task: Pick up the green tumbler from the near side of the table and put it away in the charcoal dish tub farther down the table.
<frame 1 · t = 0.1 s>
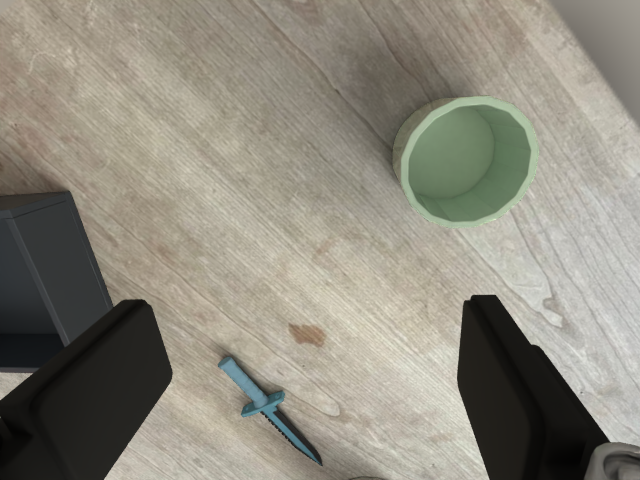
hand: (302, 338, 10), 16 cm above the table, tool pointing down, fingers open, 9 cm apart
knife: (278, 412, 34), on the table
dish tub: (30, 271, 30), on the table
green tumbler: (443, 152, 22), on the table
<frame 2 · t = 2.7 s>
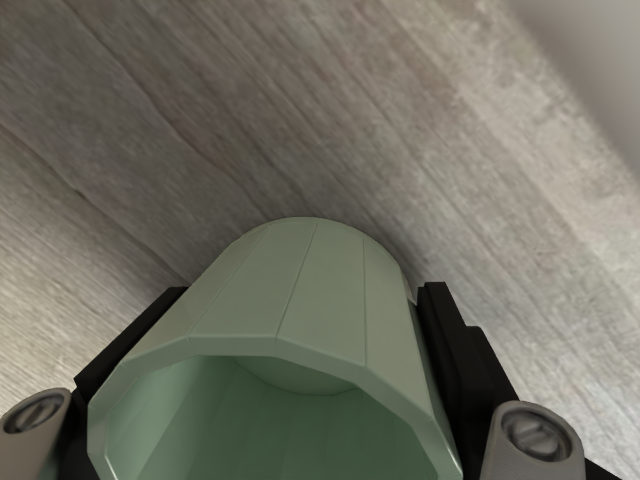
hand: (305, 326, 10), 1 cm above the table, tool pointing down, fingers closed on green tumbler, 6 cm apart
green tumbler: (309, 312, 11), on the table, touching gripper
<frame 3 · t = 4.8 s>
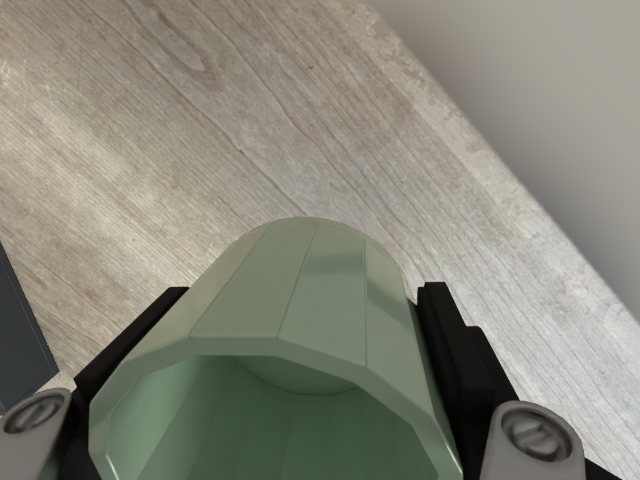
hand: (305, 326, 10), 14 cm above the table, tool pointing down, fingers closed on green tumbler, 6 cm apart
green tumbler: (309, 312, 11), point 13 cm above the table, touching gripper
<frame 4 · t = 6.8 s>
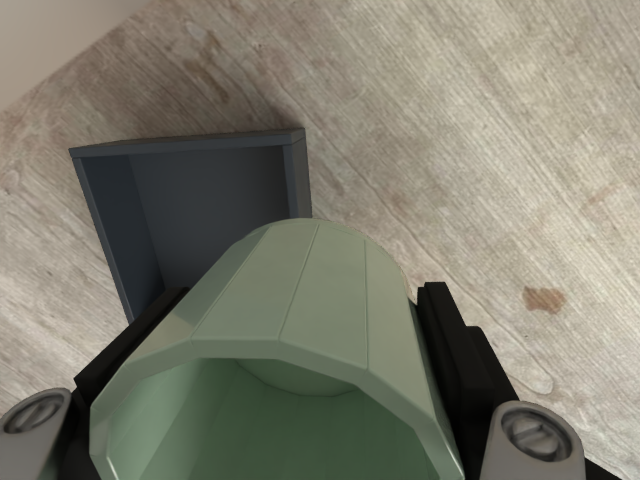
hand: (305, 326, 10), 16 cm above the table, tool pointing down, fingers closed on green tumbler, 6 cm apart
dish tub: (226, 225, 27), on the table
green tumbler: (310, 313, 11), point 15 cm above the table, touching gripper
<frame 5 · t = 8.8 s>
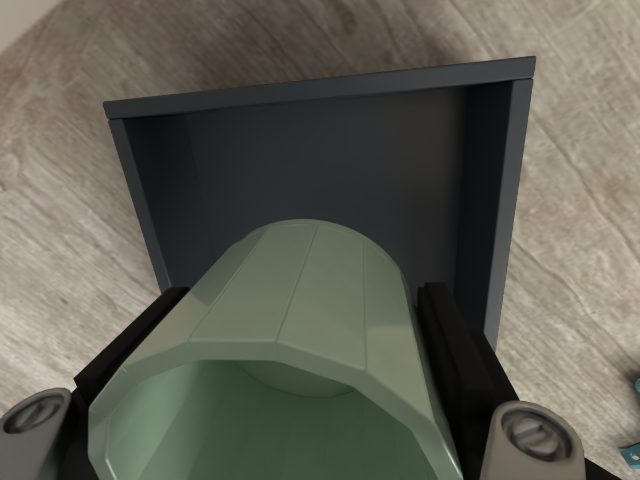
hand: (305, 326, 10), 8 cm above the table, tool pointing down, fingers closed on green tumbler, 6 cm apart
dish tub: (329, 230, 18), on the table
green tumbler: (309, 314, 11), point 8 cm above the table, touching gripper
when the fingers open (4 cm above the table, at t = 10.7 s): green tumbler drops 2 cm, resting on dish tub.
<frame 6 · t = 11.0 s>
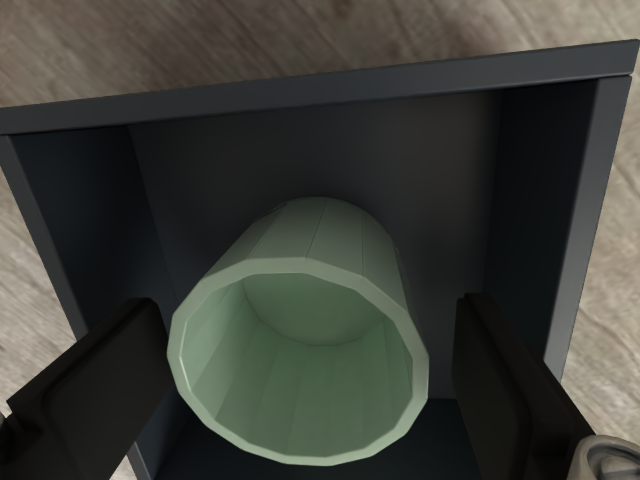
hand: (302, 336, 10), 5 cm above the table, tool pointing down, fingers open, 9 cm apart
dish tub: (319, 270, 14), on the table
green tumbler: (318, 276, 14), point 1 cm above the table, touching dish tub
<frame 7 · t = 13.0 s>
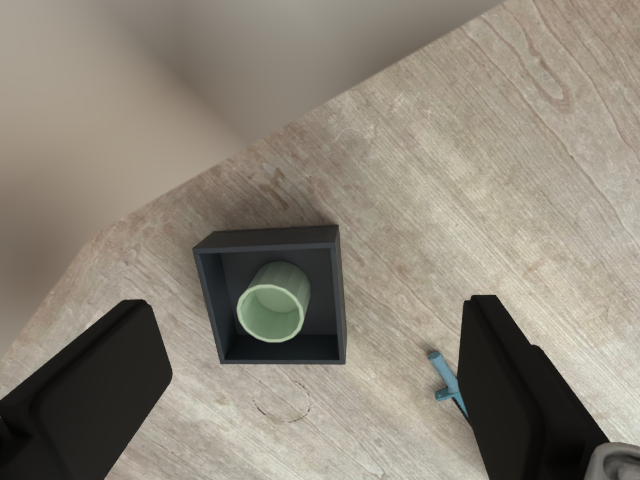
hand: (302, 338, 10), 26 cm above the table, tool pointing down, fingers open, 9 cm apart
knife: (461, 398, 42), on the table
dish tub: (282, 285, 39), on the table
green tumbler: (281, 287, 38), point 1 cm above the table, touching dish tub
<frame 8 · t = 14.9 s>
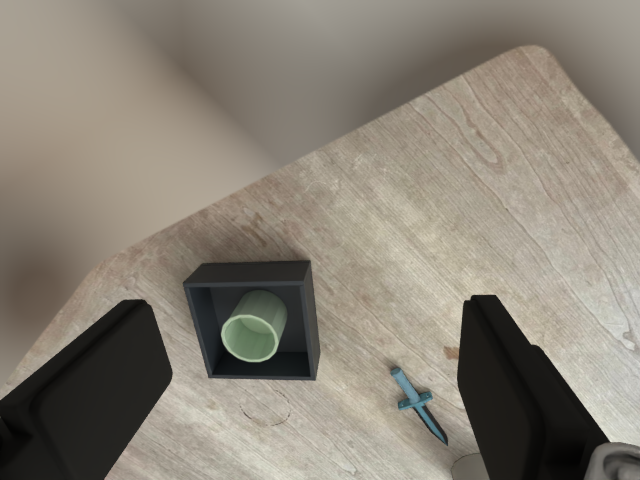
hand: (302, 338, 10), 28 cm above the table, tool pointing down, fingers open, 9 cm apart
knife: (421, 407, 48), on the table
dish tub: (263, 309, 44), on the table
green tumbler: (262, 312, 44), point 1 cm above the table, touching dish tub
cup: (479, 470, 51), on the table
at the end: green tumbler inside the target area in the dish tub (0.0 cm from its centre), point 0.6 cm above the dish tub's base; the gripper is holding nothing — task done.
